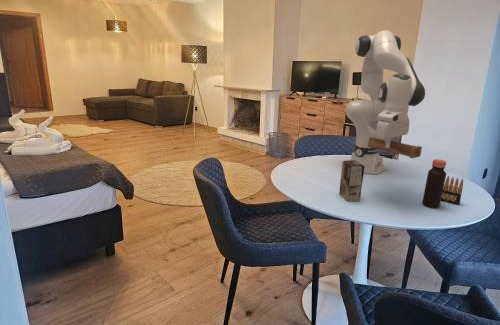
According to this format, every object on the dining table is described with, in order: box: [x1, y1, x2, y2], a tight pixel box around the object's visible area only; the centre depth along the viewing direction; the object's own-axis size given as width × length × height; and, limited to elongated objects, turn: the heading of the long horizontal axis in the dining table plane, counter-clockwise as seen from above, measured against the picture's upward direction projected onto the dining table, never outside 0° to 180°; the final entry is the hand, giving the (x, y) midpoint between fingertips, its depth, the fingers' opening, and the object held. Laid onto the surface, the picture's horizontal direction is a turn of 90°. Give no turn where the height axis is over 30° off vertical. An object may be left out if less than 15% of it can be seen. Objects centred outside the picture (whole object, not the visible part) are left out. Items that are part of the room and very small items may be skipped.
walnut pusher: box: [368, 137, 423, 159], centre depth 144 cm, size 6×22×4 cm, turn 38°
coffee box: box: [338, 159, 365, 202], centre depth 150 cm, size 9×6×16 cm
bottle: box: [421, 159, 447, 209], centre depth 143 cm, size 7×7×20 cm
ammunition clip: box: [441, 175, 464, 206], centre depth 149 cm, size 11×2×12 cm, turn 52°
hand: (390, 147), depth 144 cm, fingers closed on walnut pusher, 3 cm apart
